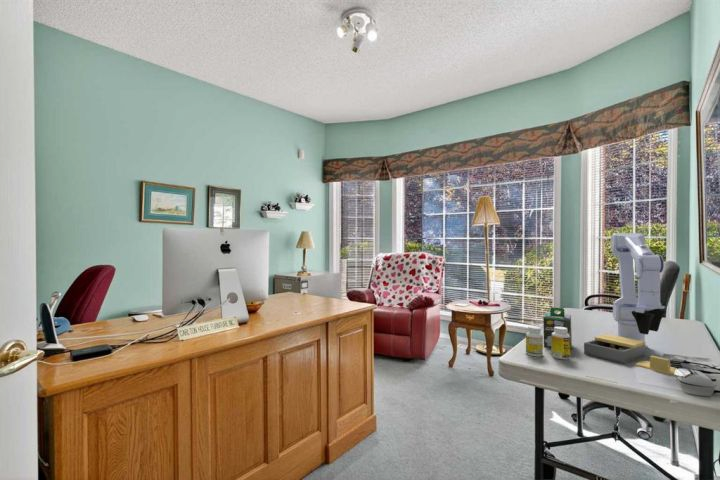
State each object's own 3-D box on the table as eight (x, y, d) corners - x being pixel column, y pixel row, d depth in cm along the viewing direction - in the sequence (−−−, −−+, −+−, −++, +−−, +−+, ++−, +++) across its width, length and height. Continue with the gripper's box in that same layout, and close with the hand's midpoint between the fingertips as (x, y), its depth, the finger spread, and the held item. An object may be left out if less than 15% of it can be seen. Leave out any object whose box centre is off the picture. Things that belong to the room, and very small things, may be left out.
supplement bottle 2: (565, 361, 115) (565, 330, 116) (548, 356, 120) (548, 327, 120) (573, 358, 118) (573, 328, 119) (556, 353, 123) (556, 325, 123)
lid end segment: (644, 363, 116) (644, 350, 116) (692, 375, 105) (692, 360, 106) (634, 366, 112) (634, 353, 112) (683, 379, 102) (683, 364, 102)
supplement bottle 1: (540, 357, 118) (540, 329, 119) (523, 354, 122) (524, 327, 122) (544, 354, 123) (544, 327, 123) (528, 351, 126) (528, 324, 126)
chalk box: (571, 344, 135) (571, 306, 135) (571, 350, 127) (571, 310, 127) (544, 341, 140) (545, 304, 140) (542, 346, 132) (543, 307, 132)
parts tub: (607, 346, 132) (607, 333, 132) (645, 355, 122) (645, 341, 122) (584, 353, 124) (584, 339, 124) (623, 363, 113) (623, 348, 113)
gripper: (654, 294, 107) (654, 338, 107) (672, 291, 115) (672, 332, 115) (628, 291, 113) (627, 333, 113) (646, 288, 121) (646, 327, 121)
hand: (648, 332), depth 114 cm, fingers open, 7 cm apart
